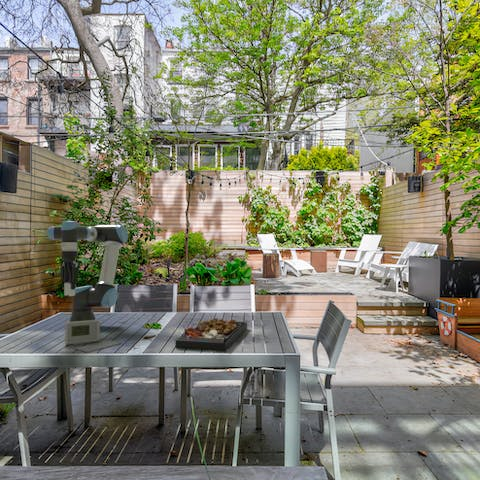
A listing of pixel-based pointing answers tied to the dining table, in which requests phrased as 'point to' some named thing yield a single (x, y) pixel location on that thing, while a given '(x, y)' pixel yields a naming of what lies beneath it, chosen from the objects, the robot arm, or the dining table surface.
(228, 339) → the food platter
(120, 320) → the dining table surface
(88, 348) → the mat
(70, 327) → the digital clock
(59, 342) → the dining table surface
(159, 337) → the dining table surface
